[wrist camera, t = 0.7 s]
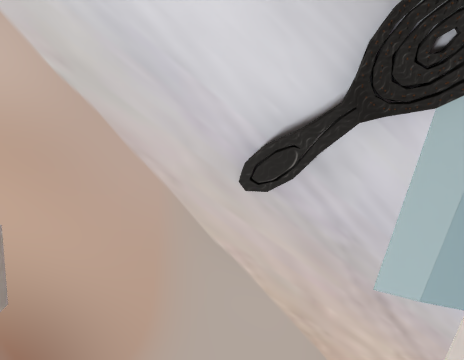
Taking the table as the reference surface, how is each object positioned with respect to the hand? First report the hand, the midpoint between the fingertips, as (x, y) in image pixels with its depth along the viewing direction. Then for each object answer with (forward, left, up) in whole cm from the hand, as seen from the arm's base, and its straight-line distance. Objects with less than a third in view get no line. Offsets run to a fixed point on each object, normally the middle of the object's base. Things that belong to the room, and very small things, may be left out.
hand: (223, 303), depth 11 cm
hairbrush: (-5, +8, -21) cm, 23 cm away
